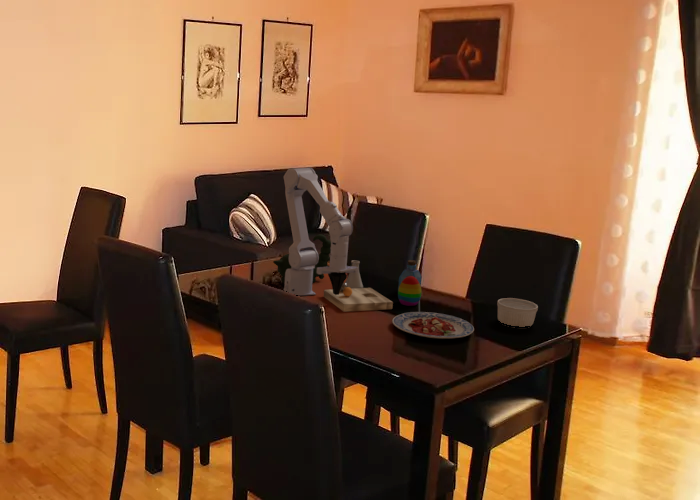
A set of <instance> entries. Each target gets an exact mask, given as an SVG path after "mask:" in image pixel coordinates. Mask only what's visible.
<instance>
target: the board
mask: <svg viewBox="0 0 700 500" xmlns="http://www.w3.org/2000/svg"><path fill="white" fill-rule="evenodd" d="M322 297H323V298H325V299H326V300H327V301H329V303H332V304H333V305H334V306H336V307H337V308H338V309H339V310H341V312H343V313H344V312H360V311H362V312H363V311H381V310H382V311H383V310H392V309H393V306H394V305H393V304H394V302H393V301H392V300H390V299H389V298H387V297H386V296H384V295H382V294H381V293H379V292H378V291H377V290H375V289H373V288H372V287H363V288H354V289H352V294H351V295H350V296H345V295H344V294H343V291H340V292H339V295H335V294H333V288H332V289H323V296H322Z"/></svg>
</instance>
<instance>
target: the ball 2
mask: <svg viewBox="0 0 700 500" xmlns="http://www.w3.org/2000/svg"><path fill="white" fill-rule="evenodd" d="M343 294H344V295H345V296H350V295H351V294H352V289H351V288H350V287H346V288H344V290H343Z"/></svg>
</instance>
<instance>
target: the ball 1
mask: <svg viewBox="0 0 700 500" xmlns="http://www.w3.org/2000/svg"><path fill="white" fill-rule="evenodd" d="M346 287H348V285H347V284H346V283H345V282H344V283H343V284H342V287H341V289H340V291H343V290H344V288H346Z"/></svg>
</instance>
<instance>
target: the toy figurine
mask: <svg viewBox="0 0 700 500" xmlns="http://www.w3.org/2000/svg"><path fill="white" fill-rule="evenodd" d="M317 240H319V241H320V242H321V243H322V245H321V247H320V251H319V252H320V253H318V255H319V260H318V263H317V264H316V265H315V268H313V281H312V284H314V283H315V282H316V281H317V280H316V278H319V279H320V280H322V279H324V278H325V275H324V274H317V268H319V267H327V266H330V264H329V265H328V263H329V262H330V254H331V240H330V239H327V237H326V235H324V234H320V233H319V234H317V235H315V236H314V237H313V238H312V241H313V242H315V241H317ZM272 263H273V264H274V265H275V266H277V272H278V274H279V275H280V276H281V278H280V282H282V284H285V272H286V270H287V269H291V265H290V263H289V253H286V254H284V255H282V256H281V257H280V258H279V259H277V260H273V261H272Z"/></svg>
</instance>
